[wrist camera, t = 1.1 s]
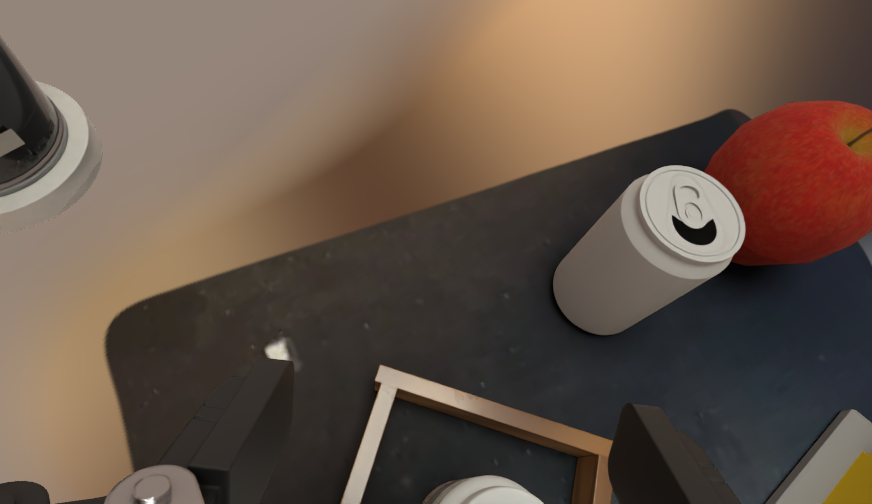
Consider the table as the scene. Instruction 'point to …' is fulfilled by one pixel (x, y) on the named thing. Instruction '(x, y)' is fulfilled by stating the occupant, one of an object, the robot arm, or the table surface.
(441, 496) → the pill bottle
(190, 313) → the table surface
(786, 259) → the apple
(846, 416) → the yellow framed monitor
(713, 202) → the beverage can
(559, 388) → the table surface
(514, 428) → the square wooden frame
